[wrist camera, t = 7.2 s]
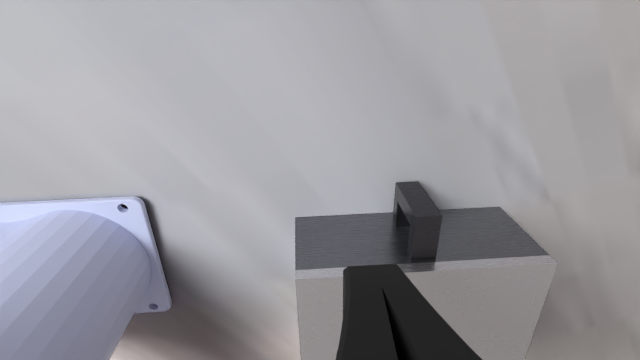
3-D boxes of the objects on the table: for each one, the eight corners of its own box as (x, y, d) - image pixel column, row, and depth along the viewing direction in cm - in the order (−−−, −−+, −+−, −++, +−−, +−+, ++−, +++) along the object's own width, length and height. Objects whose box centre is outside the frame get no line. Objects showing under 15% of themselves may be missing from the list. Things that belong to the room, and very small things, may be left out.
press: (304, 358, 25) (305, 435, 21) (293, 180, 19) (292, 234, 14) (466, 347, 26) (503, 419, 21) (508, 169, 20) (573, 219, 15)
